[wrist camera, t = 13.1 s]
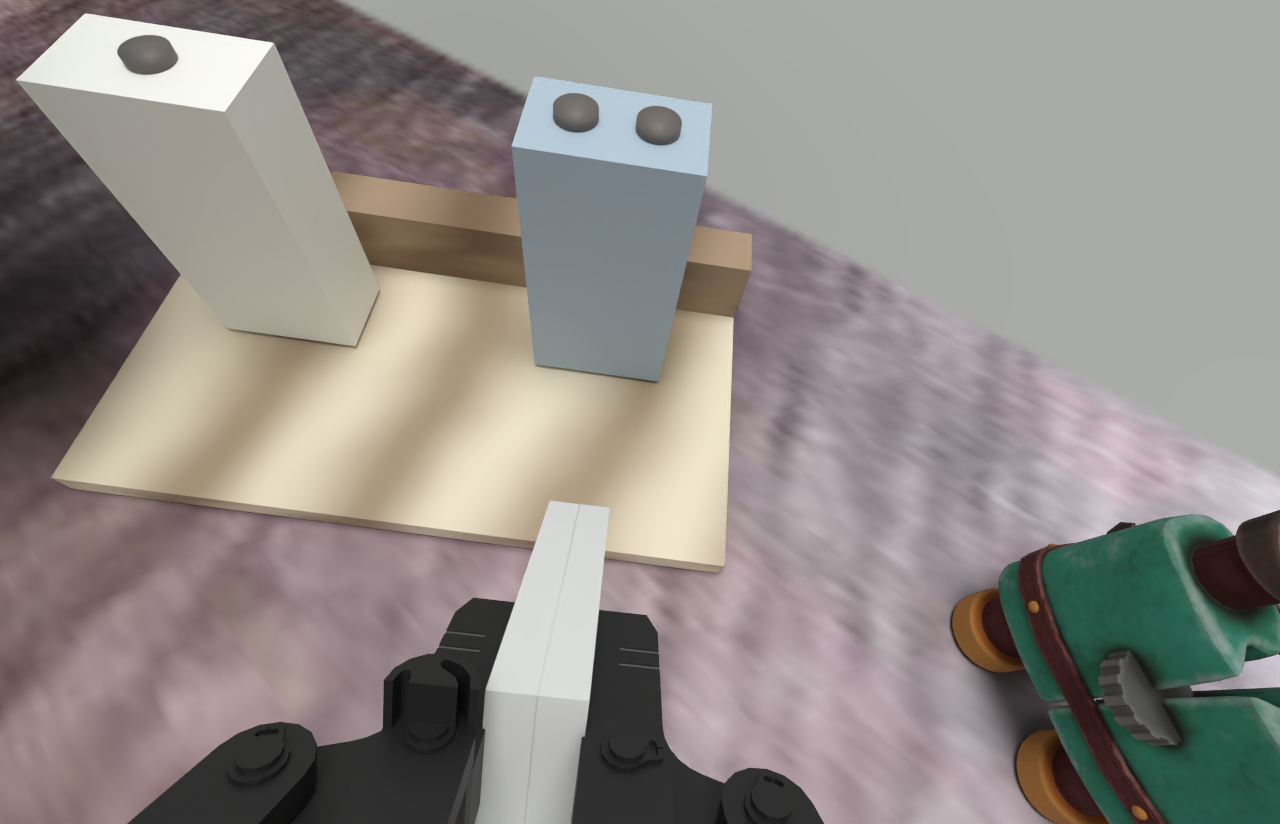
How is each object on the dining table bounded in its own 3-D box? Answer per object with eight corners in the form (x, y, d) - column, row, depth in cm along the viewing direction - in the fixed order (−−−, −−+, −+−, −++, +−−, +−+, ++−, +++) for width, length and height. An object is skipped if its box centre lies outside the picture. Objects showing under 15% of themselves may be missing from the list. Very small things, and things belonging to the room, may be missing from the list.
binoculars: (1826, 813, 12) (1560, 1006, 9) (1251, 787, 21) (1029, 879, 18) (1447, 416, 16) (1182, 464, 13) (1104, 539, 25) (904, 583, 22)
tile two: (534, 364, 24) (510, 135, 15) (549, 300, 25) (535, 59, 16) (658, 381, 24) (708, 166, 15) (665, 316, 25) (715, 87, 16)
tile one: (226, 328, 23) (5, 67, 14) (261, 265, 25) (83, -5, 16) (355, 346, 23) (218, 100, 14) (381, 282, 25) (273, 25, 16)
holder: (72, 488, 21) (-29, 438, 17) (234, 224, 27) (184, 148, 24) (718, 573, 22) (746, 541, 18) (729, 297, 28) (751, 234, 24)
